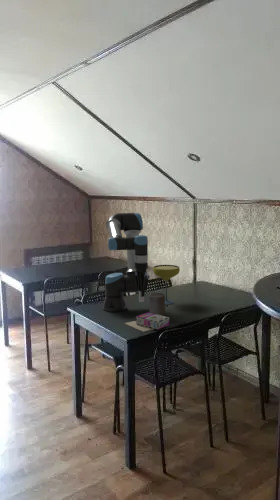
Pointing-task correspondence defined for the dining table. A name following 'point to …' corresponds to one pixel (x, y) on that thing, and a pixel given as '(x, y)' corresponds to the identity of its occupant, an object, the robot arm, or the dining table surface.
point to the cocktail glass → (166, 275)
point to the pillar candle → (157, 303)
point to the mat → (138, 326)
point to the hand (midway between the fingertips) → (141, 301)
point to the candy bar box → (152, 320)
